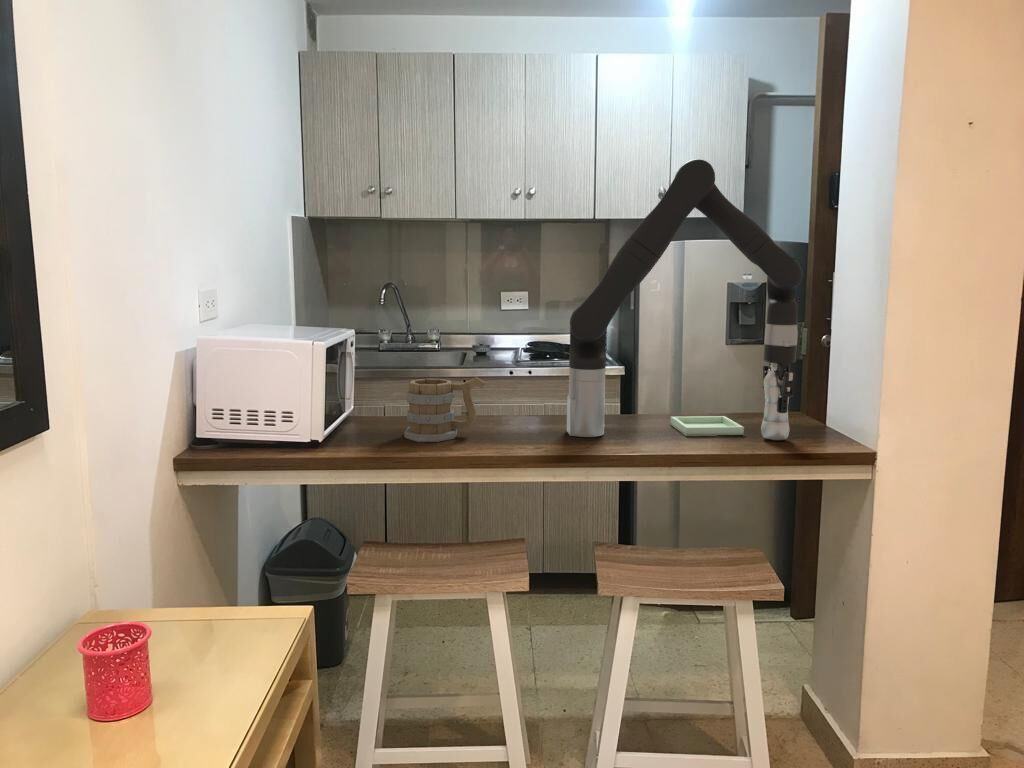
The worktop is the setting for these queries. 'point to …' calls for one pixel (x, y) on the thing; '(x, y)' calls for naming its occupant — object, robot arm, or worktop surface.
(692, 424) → the tray
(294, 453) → the worktop surface
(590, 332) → the robot arm
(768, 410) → the plastic bottle
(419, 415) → the tankard
